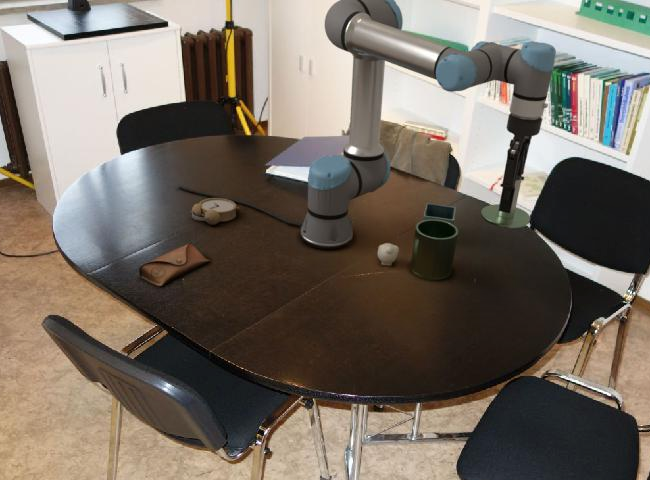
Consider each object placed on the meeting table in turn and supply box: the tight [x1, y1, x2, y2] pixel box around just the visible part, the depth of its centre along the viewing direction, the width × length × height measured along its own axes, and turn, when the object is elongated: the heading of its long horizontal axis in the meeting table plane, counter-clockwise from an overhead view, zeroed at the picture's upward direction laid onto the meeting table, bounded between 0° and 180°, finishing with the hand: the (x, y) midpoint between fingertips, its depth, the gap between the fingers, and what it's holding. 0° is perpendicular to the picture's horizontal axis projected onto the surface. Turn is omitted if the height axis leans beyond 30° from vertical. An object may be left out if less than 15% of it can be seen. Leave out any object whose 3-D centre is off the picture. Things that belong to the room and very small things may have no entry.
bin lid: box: [480, 175, 531, 229], centre depth 169 cm, size 12×12×11 cm
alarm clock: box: [190, 197, 240, 226], centre depth 208 cm, size 11×5×15 cm
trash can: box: [410, 219, 459, 281], centre depth 186 cm, size 11×11×13 cm
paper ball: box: [377, 242, 400, 266], centre depth 190 cm, size 6×6×6 cm
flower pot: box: [423, 202, 457, 225], centre depth 203 cm, size 9×9×9 cm
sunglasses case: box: [138, 241, 211, 287], centre depth 182 cm, size 18×7×7 cm, turn 144°
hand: (507, 207), depth 170 cm, fingers closed on bin lid, 4 cm apart
